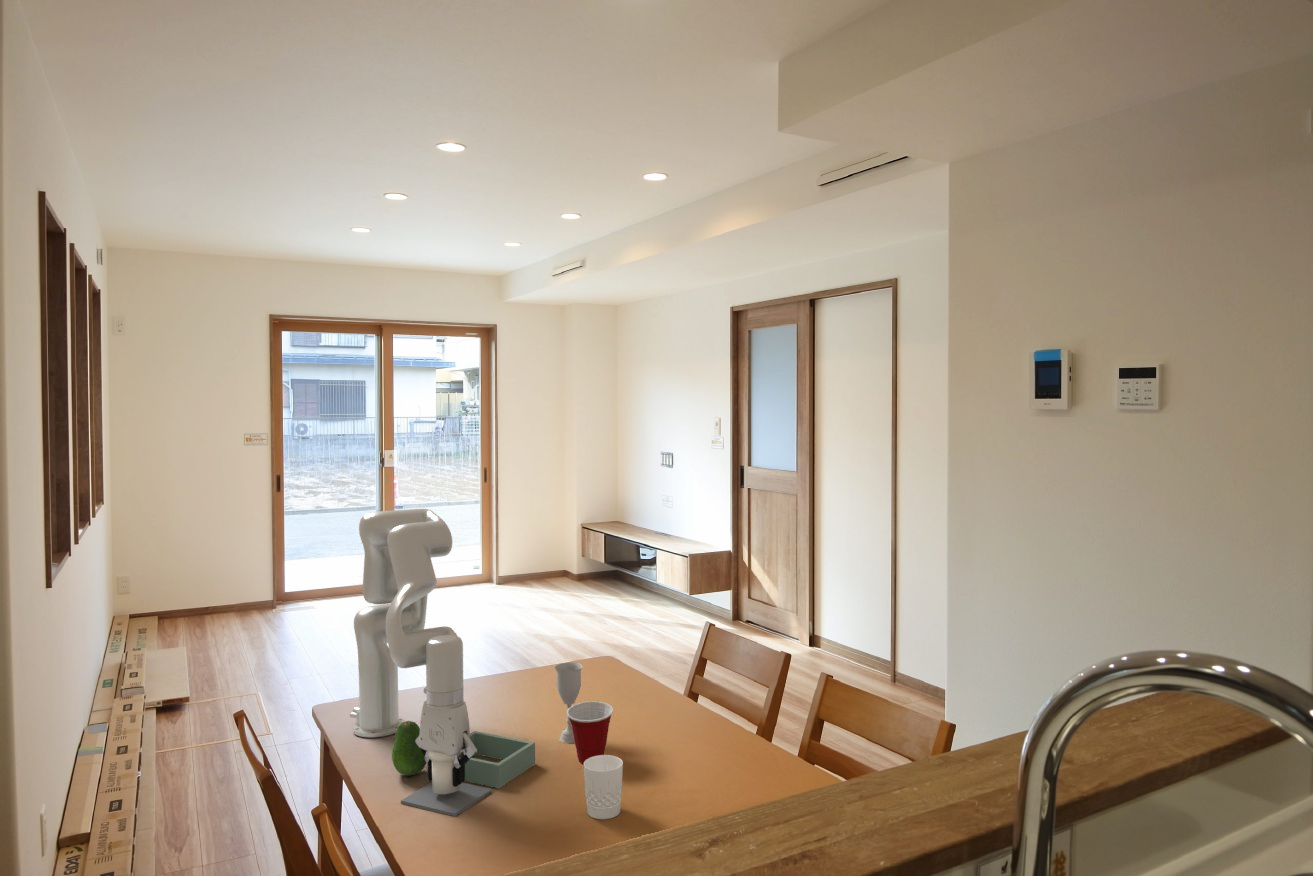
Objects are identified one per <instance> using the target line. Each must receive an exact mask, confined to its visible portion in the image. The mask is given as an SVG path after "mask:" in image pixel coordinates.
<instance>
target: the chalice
mask: <svg viewBox="0 0 1313 876" xmlns="http://www.w3.org/2000/svg"><path fill="white" fill-rule="evenodd" d="M583 666H584V665H582V663H579V662H574V661H572V662H571V661H570V662H563V663H559V664H556V665H555V666H554V669H555V671H556V687H557V691H558V694H559V696H560V698H561V701H562V703H563V704H564V705H566V707H567V710H568V709H569V708H570V707H571V706H572V705H575V704H576V700H577V698H578V696H579V694H580V690H581V687H582V669H583ZM567 710H566V711H565V713H566V714H567ZM565 721H566V724H567V727H565V729H564V728H563V730H562V731H561V734H560V738H559V739H558V740H559V742H561V743H563V744H575V741H574V736H573V730H572V725H571V722H570V719H569V718H568V716H567V717H566V719H565Z"/></svg>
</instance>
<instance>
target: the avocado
mask: <svg viewBox="0 0 1313 876" xmlns="http://www.w3.org/2000/svg"><path fill="white" fill-rule="evenodd" d="M419 735H420V725H419V724H417V723H416V722H414V721H411V720H407V721H405V722H403V723H401V724H400V725H399V726H398V728H397V731H396V733H395V735H394V741H393V743H392V749H391V750H392V751H391V760H392V764H393V767H394V768H395V770H396V771H397V772H398V773H399V774H401V775H403V776H410V777H411V776H414V775H417V774H419V773H420V772H422V771H423V770H424V769H425V767H426V766H427V764H428V762H426V761H425V756H424V754H423V753H422V752H421V748H419V746H418V745H417V744H416V742H415V740H416V739H417V738H418V736H419Z"/></svg>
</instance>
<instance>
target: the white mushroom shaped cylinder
mask: <svg viewBox="0 0 1313 876" xmlns="http://www.w3.org/2000/svg"><path fill="white" fill-rule="evenodd" d="M461 749H462V748H461ZM458 756H459V760H460V757H461V756H462V752H461V753H459V754H458ZM429 759H430V760H432V781H431V782H432V791H433V792H434V793H436V794H450V793H454V792H456V791H458V790H459V789H460V787H461V784H460V785H458V786H457V787H454V786H453V772H452V769H453V768H454V767H455V765H454V761H453V760H454V756H449V755H446V754H442V753H438V752H433V751H429Z"/></svg>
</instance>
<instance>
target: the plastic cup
mask: <svg viewBox="0 0 1313 876" xmlns="http://www.w3.org/2000/svg"><path fill="white" fill-rule="evenodd" d="M566 712H567V713H566V714H567V717H568V718H569V719H570V722H571V726H572V730H573V736H574V741H575V742H574V746H575V750H576V754H577V755H576V756H577V759H578V762H579V763H580V764H583V765H584V762H585V760H587V759H588V758H591V757H594V756H599V755H605V754H606V753H605V752H606V746H607V740H608V733H609V729H610V728H609V727H610V722H611V718H612V714H613V713H614V708H613V706H612V705H611V704H609V703H608V702H603V701H600V700H599V701H597V700H595V701H594V700H591V701H590V700H589V701H582V702H579V703H574V704H572V705H571V707H570V708H569V709H568V710H566Z"/></svg>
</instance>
